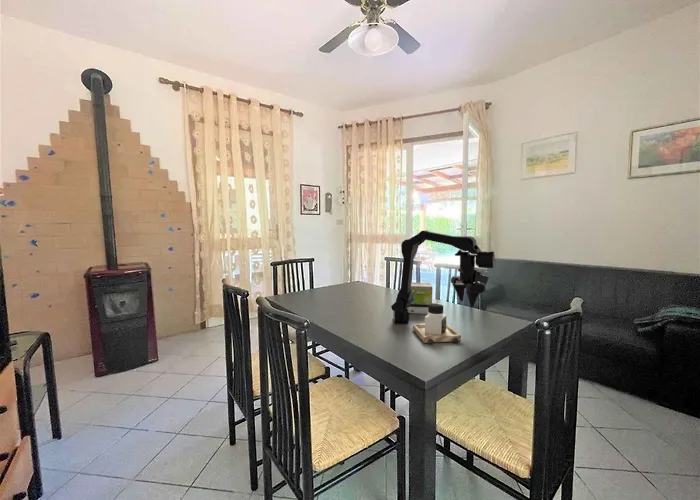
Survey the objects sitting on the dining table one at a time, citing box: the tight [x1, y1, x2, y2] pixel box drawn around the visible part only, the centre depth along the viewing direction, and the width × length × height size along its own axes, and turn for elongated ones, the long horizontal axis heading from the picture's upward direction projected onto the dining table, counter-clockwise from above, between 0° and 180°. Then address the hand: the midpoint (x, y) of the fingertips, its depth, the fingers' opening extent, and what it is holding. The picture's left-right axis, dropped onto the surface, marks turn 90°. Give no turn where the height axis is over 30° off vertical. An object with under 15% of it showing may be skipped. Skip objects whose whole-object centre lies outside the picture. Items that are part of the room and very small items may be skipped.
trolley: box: [412, 322, 462, 345], centre depth 126 cm, size 15×17×3 cm
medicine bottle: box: [424, 302, 447, 336], centre depth 126 cm, size 7×7×12 cm
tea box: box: [407, 281, 433, 315], centre depth 160 cm, size 15×10×15 cm, turn 82°
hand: (466, 303), depth 126 cm, fingers open, 9 cm apart
